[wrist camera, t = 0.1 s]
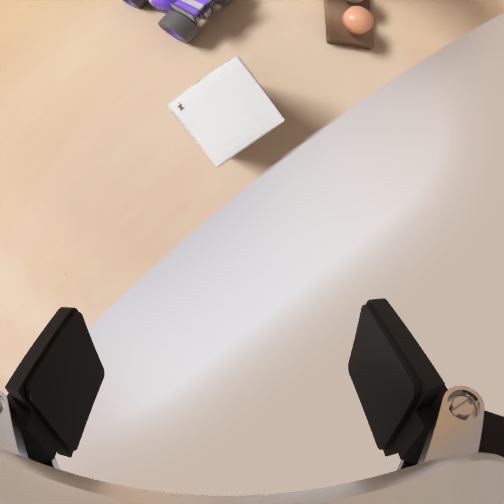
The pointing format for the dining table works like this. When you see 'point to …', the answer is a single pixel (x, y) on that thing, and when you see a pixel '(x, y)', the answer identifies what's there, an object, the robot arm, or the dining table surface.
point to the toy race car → (179, 15)
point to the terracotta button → (357, 20)
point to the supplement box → (226, 111)
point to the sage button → (354, 1)
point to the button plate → (335, 30)
